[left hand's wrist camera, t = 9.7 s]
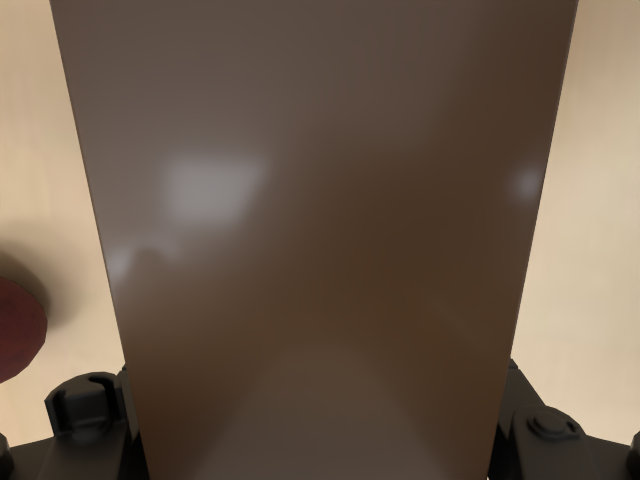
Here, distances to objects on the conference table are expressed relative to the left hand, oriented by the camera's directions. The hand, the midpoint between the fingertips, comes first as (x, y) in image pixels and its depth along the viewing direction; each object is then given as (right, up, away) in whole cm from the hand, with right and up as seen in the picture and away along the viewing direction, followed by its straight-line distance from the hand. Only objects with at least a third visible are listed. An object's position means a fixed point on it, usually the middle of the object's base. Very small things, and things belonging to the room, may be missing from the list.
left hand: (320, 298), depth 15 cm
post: (0, +19, -7) cm, 20 cm away
